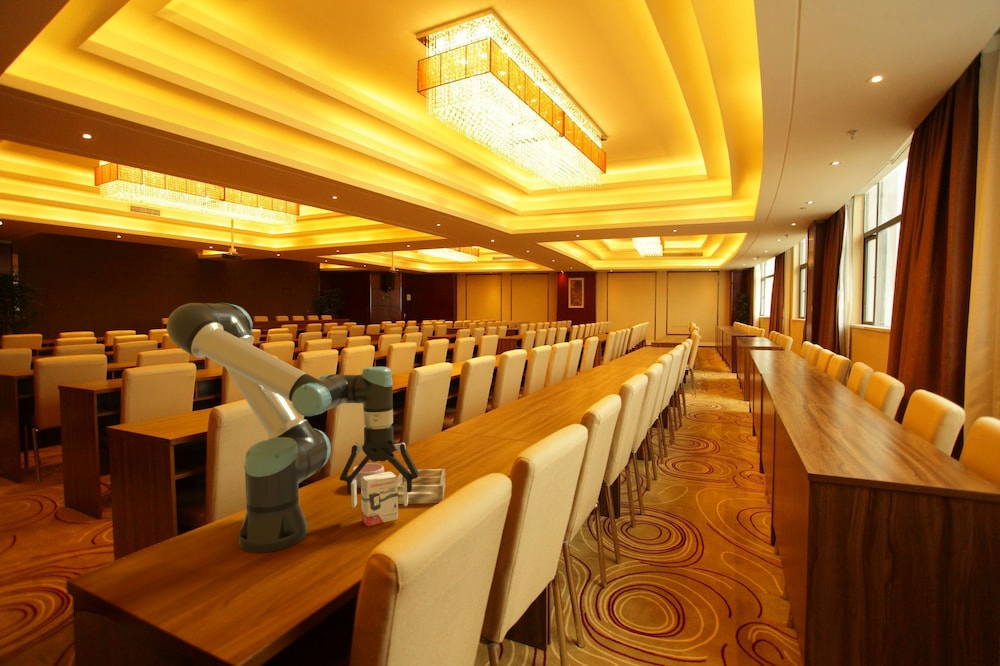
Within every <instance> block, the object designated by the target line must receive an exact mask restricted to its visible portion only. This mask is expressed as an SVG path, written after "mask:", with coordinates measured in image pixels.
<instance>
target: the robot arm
mask: <svg viewBox="0 0 1000 666" xmlns="http://www.w3.org/2000/svg"><path fill="white" fill-rule="evenodd" d="M166 330H167V331H166V332H167V334H168V335H167V336H168V337H169V339H170V340H171V342H172V343H173V344H174V345H176V347H178V348H179V349H181V350H182V351H185V352H186V353H188V354H190V355H192V356H194V357H195V358H199V359H201V358H207V359H209V360H210V361H213V362H215V363H217V364H219V365H221V366H222V367H224V368H225V370H226V371H227V372H228V374H229V377H230V378H231V379H232V381H233V382H234V384H235V386H237V388H238V391H239V392H240V393H241V395H242V396H243V398H244V399H245V401H246V403H247V405H248V406H249V407H250V409H251V410H252V412H253V413H254V415H255V417H256V418H257V420H258V421H259V423H260V425H261V426H262V427H263V429H264V430H265V432H266V435H268V437H267V440H266V439H265V440H260V441H258V442H256V443H254V444H253V445H251V446H250V447H249V448H248V449H247V450H246V452H245V456H244V457H245V458H244V459H245V461H244V465H243V466H244V467H243V468H244V472H245V473H244V478H245V502H246V503H245V504H246V505H245V506H246V511H245V514H244V519H243V521H242V524H241V528H240V531H239V532H238V533H239V534H238V545H239V546H238V547H239V548H240V549H241V550H243V551H245V552H249V553H256V554H258V553H259V554H261V553H270V552H276V551H280V550H284V549H287V548H290V547H292V546H294V545H297V544H298V543H300V542H301V541H303V540H304V539H305V537H306V536H307V535H308V523H307V520H306V518H305V514H304V513H303V510H302V507H301V506H300V498H299V497H300V494H299V492H300V491H299V484H300V483H302V482H303V481H305V480H306V479H308V478H310V477H311V476H312V475H315V474H316V473H318V472H319V471H320V470H321V469H322V468H323V467H325V465H326V464H327V463H328V462H329V459H330V455H331V453H332V452H331V450H332V447H331V442H330V439H329V437H328V436H327V435H326V433H325V432H323V431H322V430H320V429H317V428H314V427H312V426H311V424H310V422H309V420H307V419H304V418H300V417H299V416H298V415H301V416H303V417H314V416H318V415H321V414H323V413H325V412H326V411H328V410H331V409H333V408H336V407H338V406H340V405H343V404H362V405H363V407H362V408H363V425H364V426H365V427H364V428H363V444H359V443H357V442H355V443H354V444H353V445H352V446H351V449H350V452H351V453H350V455H349V457H348V459H347V462H346V463H345V466H344V467H343V470H342V472H341V474H340V477H339V481H344V482H346V487H347V488H346V489H347V492H346V493H347V494H348V495H350V497H351V508H352V509H354V508H356V506H357V505H358V498H357V497H358V494H357V490H358V487H357V485H356V480H353V479H354V478H355V476H356V475H357V474H358V473H359V472H360V470H361V469H362V468H363V467H364V466H365V464H366V463H369V461H371V462H372V463H376V462H382V463H383V462H386V461H388V462H389V464H391V465H392V466H393V467H394V468H395V469H396V471H398V472H399V474H400V473H401V474H402V476H403V477H404V478H405V480H404V504H403V506H404V507H408V492H411V490H412V479H416V478H417V477H419V475H418V474H419V472H418V470H419V469H417V467H416V465H415V463H414V460H413V459H412V457H411V455H410V454H409V452H408V450H407V444H406V442H405V441H402V442H400V443H395V442H394V426H393V425H392V424H393V423H394V409H393V385H394V383H393V374H392V370H391V368H389V367H387V366H369V367H364V368H363V369H362V371H361V372H362V373H361V374H337V373H332V374H324V375H321V376H320V377H319V378H316V377H315V376H313V375H310V374H309V373H306V372H305V371H303V370H301V369H299V368H298V367H295V366H293V365H291V364H289V363H288V362H285V361H284V360H282V359H281V358H278V357H276V356H275V355H272V354H271V353H268V352H266V351H264V350H262V349H260V348H258V346H257V347H256V346H255V345H253V344H254V342H255V337H254V335H253V321H252V318H251V316H250V314H249V313H248V312H247V311H246V310H245V309H244V308H243V307H241V306H239V305H235V304H231V303H226V302H219V303H218V302H217V303H205V302H204V303H203V302H201V303H200V302H189V303H185V304H183V305H180V306H179V307H177V308H176V309H174V310H173V311H172V312H171V313H170V315H169V317H168V319H167V322H166ZM290 402H291V404H292V406H293V407H292V406H291V404H290ZM293 408H294V409H295V410H294V409H293ZM296 412H297V413H296ZM297 414H298V415H297ZM395 450H396V451H397V452H399V453H400V455H401V457H402V458H403V461H404V463H405V464H406V466H407V468H406V467H405V466H404V464H403V463H402V462H401V461H400V460H399V459H398V458H397V456H396V455H395V453H394V451H395ZM361 451H362V452H363V453H364V454H365V457H364V458H363V459H362V460H361V462H360V463H359V464H358V465H356V466H357V468H356V469H355V470H354V471H353V472H352V471H351V474H350V475H348V474H349V472H350V470H351V468H352V465H353V463H354V461H355V459H356V457H357V455H358V454H360V453H361ZM408 470H410V472H411V473H410V472H409V471H408Z"/></svg>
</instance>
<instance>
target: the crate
mask: <svg viewBox="0 0 1000 666" xmlns="http://www.w3.org/2000/svg"><path fill="white" fill-rule="evenodd" d="M407 470H408V471H409V472H410V470H409V469H407ZM417 470H418V472H419V474H418V477H417V478H416V479H412V490H411V492H408V504H409V505H411V504H415V505H416V504H440V503H439V502H440V501H442V500H443V501H444V498H445V490H446V485H447V483H446V468H437V469H436V468H434V469H433V468H432V469H431V468H430V469H417ZM410 473H411V472H410ZM397 477H398V505H401V504H402V505H404V480H405V478H404V477H403V476H402V474H401V473H400V472H399V474H398V476H397ZM408 504H407V505H408Z"/></svg>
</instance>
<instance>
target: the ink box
mask: <svg viewBox="0 0 1000 666" xmlns="http://www.w3.org/2000/svg"><path fill="white" fill-rule="evenodd" d="M360 490H361V491H360V493H361V494H360V495H361V499H360V500H361V521H362V522H363V524H365V526H366V527H372V526H376V525H380V524H384V523H388V522H392V521H395V520H396V521H397V520H399V504H398V476H397V475H396V474H395V473H393V472H392V471H386V472H385V471H384V473H379V474H374V475H369V476H364V477H363V478H361V488H360Z"/></svg>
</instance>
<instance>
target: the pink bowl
mask: <svg viewBox="0 0 1000 666" xmlns="http://www.w3.org/2000/svg"><path fill="white" fill-rule="evenodd" d="M357 466H358V465H355V466H354V467H353V468H352V470H351V473H352V472H353V471H354V470H355V469H356V468H357ZM384 472H385V467H384V465H382V464H380V463H376V462H370V463H369V462H367V463H366V464H365V466H364V467H363V468H362V469H361V470H360V472H359V473H358V474H357V475H356V476H355V478H354V479H353V480H356V485H357V488H359V489H361V478H363V477H364V476H369V475H374V474H379V473H384Z"/></svg>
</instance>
